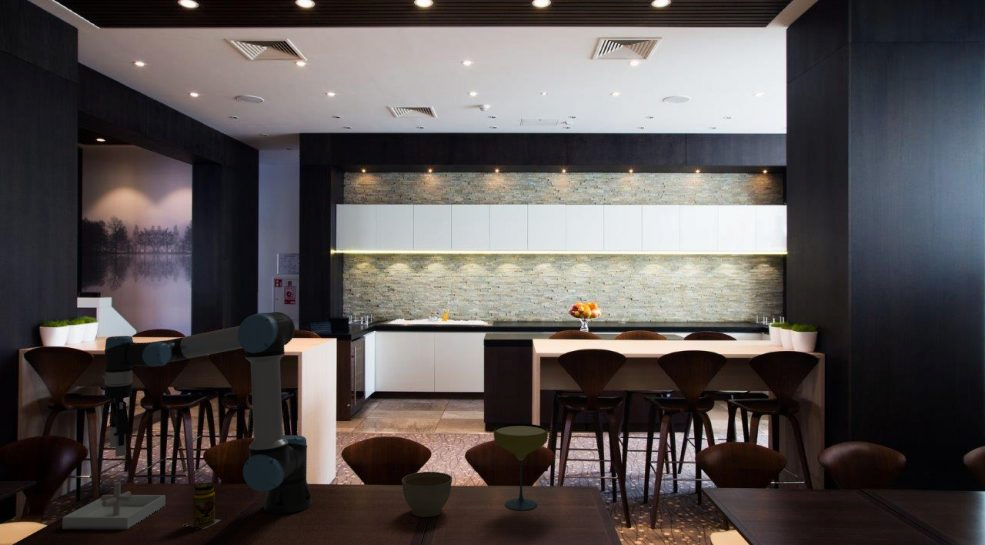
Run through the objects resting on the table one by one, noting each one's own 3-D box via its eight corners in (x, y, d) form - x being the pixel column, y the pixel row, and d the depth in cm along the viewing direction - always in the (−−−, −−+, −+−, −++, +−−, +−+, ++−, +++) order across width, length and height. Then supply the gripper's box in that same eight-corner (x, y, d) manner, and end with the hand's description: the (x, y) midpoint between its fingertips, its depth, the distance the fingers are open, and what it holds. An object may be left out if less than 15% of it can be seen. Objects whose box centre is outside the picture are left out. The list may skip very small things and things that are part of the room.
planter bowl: (462, 511, 195) (462, 477, 195) (424, 526, 183) (424, 490, 184) (429, 500, 206) (429, 468, 206) (391, 513, 194) (391, 479, 195)
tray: (165, 505, 202) (165, 495, 202) (127, 529, 182) (127, 517, 182) (106, 505, 202) (106, 494, 202) (62, 529, 182) (62, 517, 182)
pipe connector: (118, 521, 186) (119, 488, 187) (89, 519, 188) (90, 486, 188) (142, 510, 196) (142, 478, 197) (114, 508, 198) (115, 477, 198)
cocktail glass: (533, 518, 189) (533, 438, 189) (484, 508, 198) (483, 431, 198) (557, 501, 204) (556, 426, 205) (510, 492, 213) (509, 421, 214)
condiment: (204, 529, 181) (204, 489, 182) (181, 526, 184) (182, 486, 184) (221, 520, 188) (222, 481, 189) (200, 517, 191) (200, 479, 191)
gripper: (100, 381, 201) (99, 445, 200) (109, 390, 181) (108, 462, 180) (126, 379, 205) (125, 441, 205) (138, 388, 186) (137, 457, 185)
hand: (117, 451), depth 192 cm, fingers open, 13 cm apart
